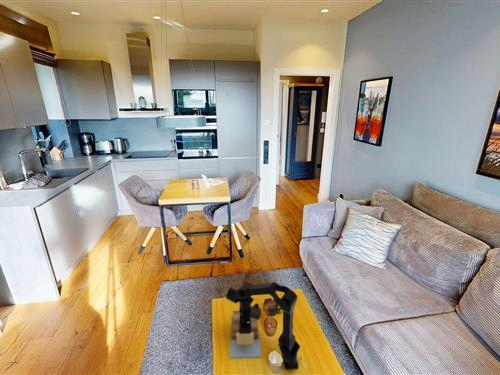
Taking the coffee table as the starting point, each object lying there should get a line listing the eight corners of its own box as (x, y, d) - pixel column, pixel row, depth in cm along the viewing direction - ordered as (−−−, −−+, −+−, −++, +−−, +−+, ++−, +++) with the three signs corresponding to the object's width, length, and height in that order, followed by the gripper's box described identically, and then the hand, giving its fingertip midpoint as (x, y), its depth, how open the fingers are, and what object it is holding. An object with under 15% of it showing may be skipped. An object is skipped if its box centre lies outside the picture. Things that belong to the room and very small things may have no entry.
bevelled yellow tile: (253, 341, 130) (253, 344, 128) (236, 342, 130) (236, 345, 128) (253, 331, 129) (253, 334, 127) (236, 332, 129) (236, 335, 127)
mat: (261, 357, 122) (261, 356, 122) (229, 358, 122) (229, 357, 122) (260, 339, 132) (260, 338, 132) (230, 340, 131) (230, 339, 131)
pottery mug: (261, 315, 147) (260, 301, 149) (267, 311, 156) (265, 297, 158) (280, 316, 143) (279, 301, 144) (285, 312, 151) (283, 297, 153)
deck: (258, 339, 132) (258, 333, 130) (232, 340, 131) (232, 334, 130) (256, 315, 147) (256, 310, 146) (233, 316, 147) (233, 310, 145)
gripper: (261, 320, 119) (261, 344, 124) (259, 292, 136) (259, 314, 141) (238, 320, 119) (239, 345, 123) (239, 293, 136) (240, 315, 141)
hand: (245, 328), depth 132 cm, fingers closed
